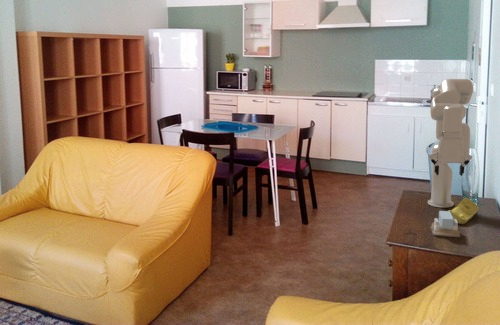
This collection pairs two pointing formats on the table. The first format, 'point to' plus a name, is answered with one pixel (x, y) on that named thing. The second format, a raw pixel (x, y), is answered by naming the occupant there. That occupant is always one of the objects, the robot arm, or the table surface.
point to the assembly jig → (445, 232)
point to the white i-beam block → (438, 227)
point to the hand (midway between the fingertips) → (448, 174)
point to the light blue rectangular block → (446, 219)
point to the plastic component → (464, 211)
